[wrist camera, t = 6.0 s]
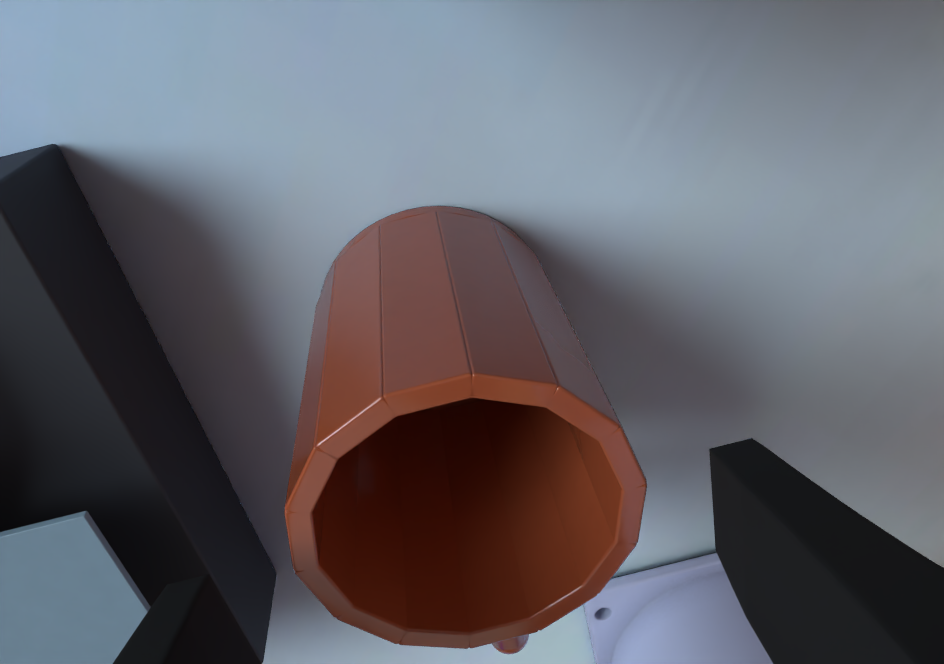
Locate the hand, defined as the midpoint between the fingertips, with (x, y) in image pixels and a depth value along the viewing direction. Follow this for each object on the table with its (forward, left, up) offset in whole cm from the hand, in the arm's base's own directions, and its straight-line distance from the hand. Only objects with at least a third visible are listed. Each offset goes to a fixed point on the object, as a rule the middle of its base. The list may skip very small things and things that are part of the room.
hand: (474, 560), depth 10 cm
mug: (0, 0, -8) cm, 8 cm away
